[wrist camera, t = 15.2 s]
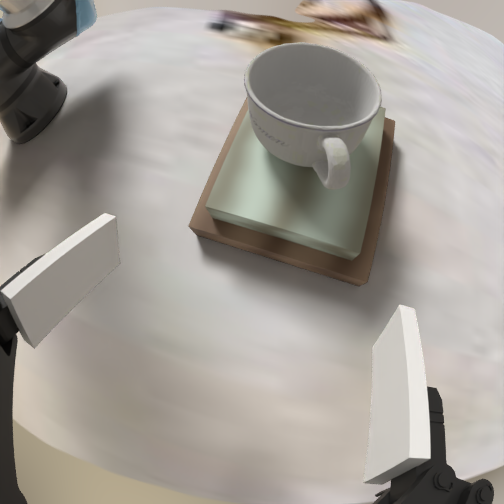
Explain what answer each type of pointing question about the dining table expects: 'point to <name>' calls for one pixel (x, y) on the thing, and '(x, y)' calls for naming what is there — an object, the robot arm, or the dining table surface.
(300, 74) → the teacup
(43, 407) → the dining table surface
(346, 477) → the dining table surface
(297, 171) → the block stand
